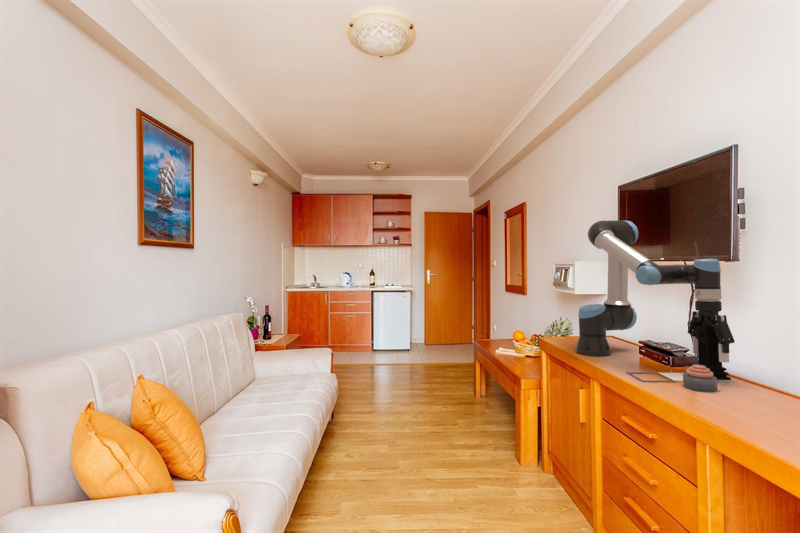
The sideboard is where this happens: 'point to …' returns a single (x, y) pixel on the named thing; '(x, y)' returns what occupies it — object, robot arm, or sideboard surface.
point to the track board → (670, 377)
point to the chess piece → (709, 350)
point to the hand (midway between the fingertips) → (710, 357)
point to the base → (700, 383)
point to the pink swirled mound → (699, 371)
